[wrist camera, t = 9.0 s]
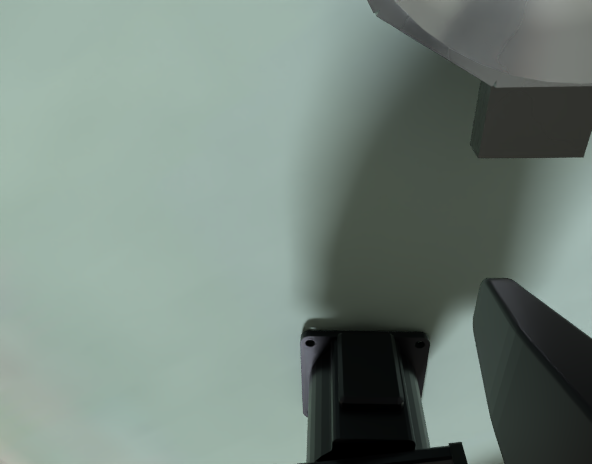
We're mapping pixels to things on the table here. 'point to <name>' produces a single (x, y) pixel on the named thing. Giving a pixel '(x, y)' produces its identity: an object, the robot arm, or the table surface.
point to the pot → (512, 103)
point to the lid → (514, 34)
